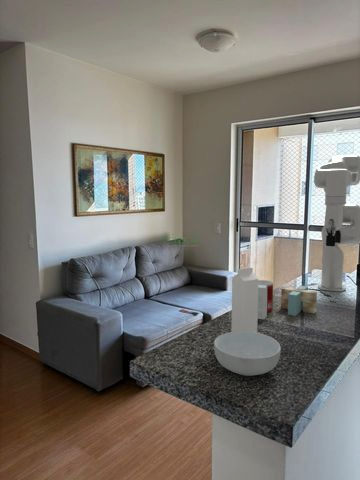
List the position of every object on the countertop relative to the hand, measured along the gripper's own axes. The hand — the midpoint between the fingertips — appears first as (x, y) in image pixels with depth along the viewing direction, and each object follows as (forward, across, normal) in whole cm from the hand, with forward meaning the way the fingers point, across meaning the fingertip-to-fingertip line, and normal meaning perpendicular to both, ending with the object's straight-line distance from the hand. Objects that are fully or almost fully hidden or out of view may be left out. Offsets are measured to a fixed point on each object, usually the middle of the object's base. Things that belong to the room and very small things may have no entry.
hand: (333, 244), depth 141 cm
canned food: (+26, +19, -21) cm, 38 cm away
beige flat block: (+26, +12, -10) cm, 30 cm away
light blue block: (+26, +12, -10) cm, 30 cm away
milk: (+24, +48, -16) cm, 56 cm away
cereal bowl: (+24, +69, -5) cm, 73 cm away
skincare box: (+25, +29, -19) cm, 43 cm away
